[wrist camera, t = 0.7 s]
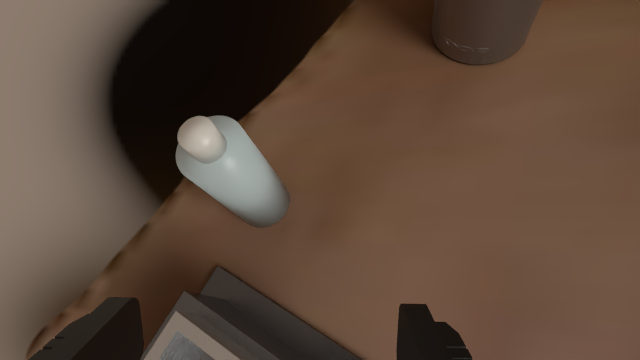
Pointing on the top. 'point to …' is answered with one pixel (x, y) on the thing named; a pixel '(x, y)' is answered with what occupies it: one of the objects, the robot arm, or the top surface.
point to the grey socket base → (237, 328)
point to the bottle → (231, 169)
